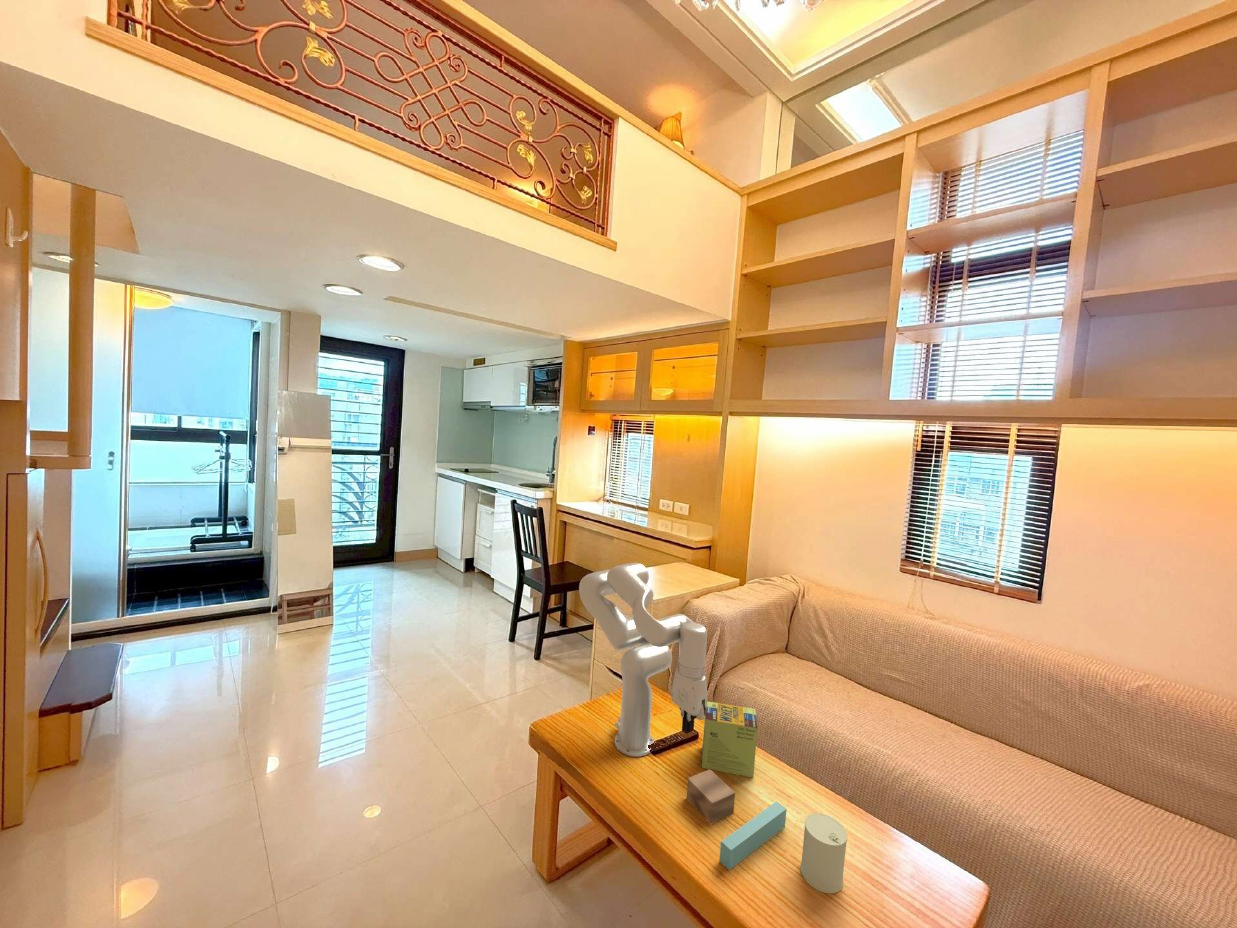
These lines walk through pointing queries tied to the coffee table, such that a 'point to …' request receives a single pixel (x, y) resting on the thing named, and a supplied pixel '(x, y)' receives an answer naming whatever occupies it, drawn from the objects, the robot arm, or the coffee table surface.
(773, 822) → the teal board
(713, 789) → the brown block
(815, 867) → the can
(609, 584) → the robot arm
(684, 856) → the coffee table surface
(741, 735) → the protein box
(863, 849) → the coffee table surface
